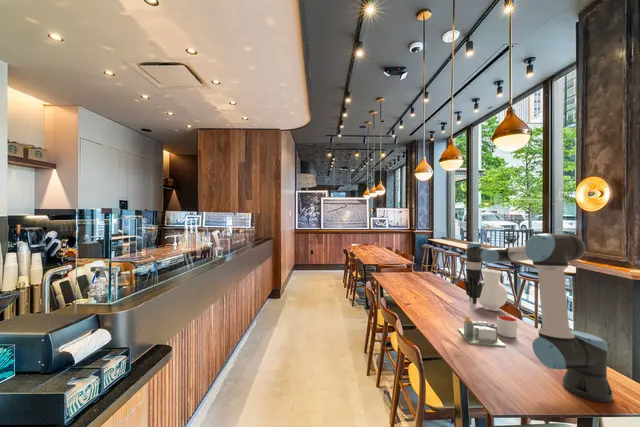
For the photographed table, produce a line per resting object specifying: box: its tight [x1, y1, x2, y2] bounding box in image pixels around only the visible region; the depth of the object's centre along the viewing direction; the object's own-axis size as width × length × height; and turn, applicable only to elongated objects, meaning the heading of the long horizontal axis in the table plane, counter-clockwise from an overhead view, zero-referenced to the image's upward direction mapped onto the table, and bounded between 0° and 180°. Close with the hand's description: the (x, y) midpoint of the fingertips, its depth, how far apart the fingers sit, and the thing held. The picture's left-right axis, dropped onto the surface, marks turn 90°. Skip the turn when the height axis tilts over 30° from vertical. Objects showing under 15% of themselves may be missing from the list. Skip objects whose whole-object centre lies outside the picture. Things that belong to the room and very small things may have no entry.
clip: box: [464, 314, 473, 324], centre depth 170 cm, size 4×2×4 cm, turn 171°
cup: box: [496, 315, 518, 339], centre depth 174 cm, size 10×10×10 cm
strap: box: [473, 322, 493, 328], centre depth 169 cm, size 3×12×1 cm, turn 81°
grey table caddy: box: [457, 320, 507, 348], centre depth 169 cm, size 20×18×9 cm
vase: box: [477, 268, 508, 312], centre depth 222 cm, size 19×21×30 cm
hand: (472, 308), depth 170 cm, fingers closed
